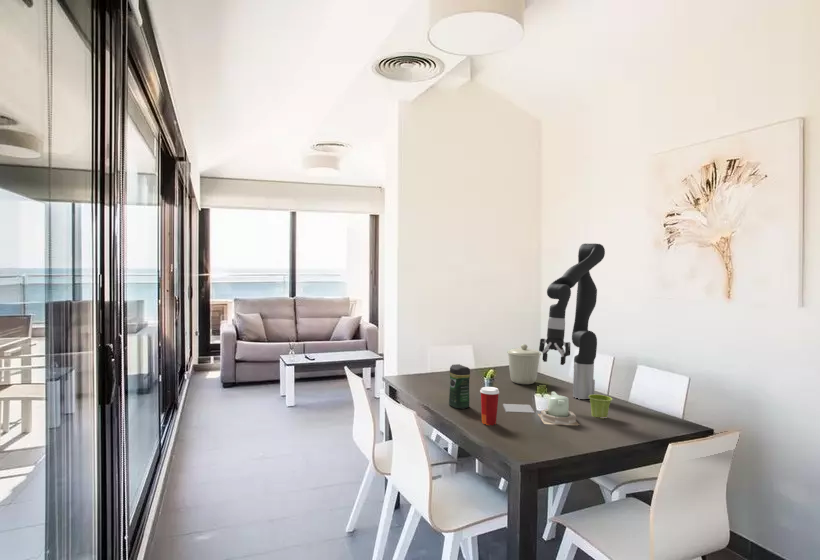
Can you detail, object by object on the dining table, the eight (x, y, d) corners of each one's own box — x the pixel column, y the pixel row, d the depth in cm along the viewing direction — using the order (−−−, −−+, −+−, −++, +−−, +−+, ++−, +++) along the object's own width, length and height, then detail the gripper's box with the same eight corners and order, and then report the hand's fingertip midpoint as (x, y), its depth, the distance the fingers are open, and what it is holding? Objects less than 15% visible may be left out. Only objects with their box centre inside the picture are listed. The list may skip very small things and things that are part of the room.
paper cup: (501, 422, 202) (502, 388, 201) (494, 427, 195) (495, 392, 195) (483, 419, 206) (484, 385, 205) (475, 424, 199) (476, 389, 199)
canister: (511, 377, 286) (512, 340, 285) (543, 381, 278) (544, 343, 277) (502, 383, 270) (503, 344, 269) (536, 388, 262) (537, 348, 261)
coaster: (529, 406, 226) (529, 404, 226) (534, 414, 214) (534, 412, 214) (502, 405, 227) (502, 403, 227) (506, 413, 215) (506, 411, 215)
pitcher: (571, 423, 200) (572, 401, 200) (551, 423, 201) (551, 400, 200) (561, 412, 216) (562, 391, 215) (543, 411, 216) (543, 391, 216)
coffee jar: (472, 408, 221) (473, 366, 221) (456, 410, 218) (457, 367, 218) (461, 402, 230) (462, 362, 230) (446, 404, 227) (447, 363, 226)
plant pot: (613, 417, 213) (614, 396, 213) (608, 422, 205) (609, 401, 205) (591, 413, 218) (591, 393, 218) (585, 418, 210) (585, 397, 210)
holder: (570, 416, 212) (571, 409, 212) (579, 426, 198) (580, 419, 198) (537, 415, 213) (537, 407, 213) (544, 425, 199) (544, 417, 199)
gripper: (574, 329, 225) (572, 365, 225) (546, 325, 235) (543, 360, 235) (566, 329, 220) (564, 366, 220) (538, 325, 230) (535, 361, 230)
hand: (553, 363), depth 227 cm, fingers open, 8 cm apart
